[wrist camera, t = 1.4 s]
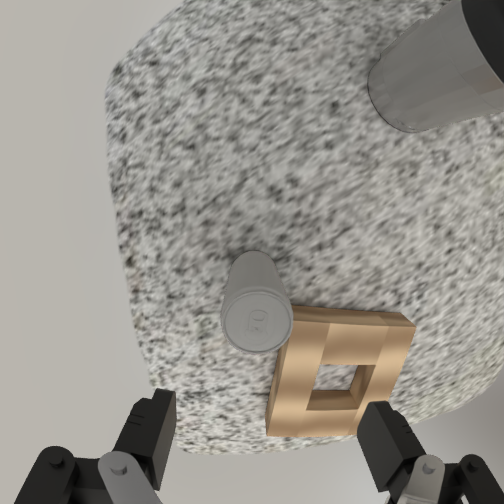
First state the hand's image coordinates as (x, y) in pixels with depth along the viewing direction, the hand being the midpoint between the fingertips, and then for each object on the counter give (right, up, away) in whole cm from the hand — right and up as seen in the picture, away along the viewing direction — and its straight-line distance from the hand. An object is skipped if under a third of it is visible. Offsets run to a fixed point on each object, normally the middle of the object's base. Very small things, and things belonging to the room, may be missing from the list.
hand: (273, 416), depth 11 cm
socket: (+9, -8, +22) cm, 25 cm away
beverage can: (-1, +5, +20) cm, 20 cm away
